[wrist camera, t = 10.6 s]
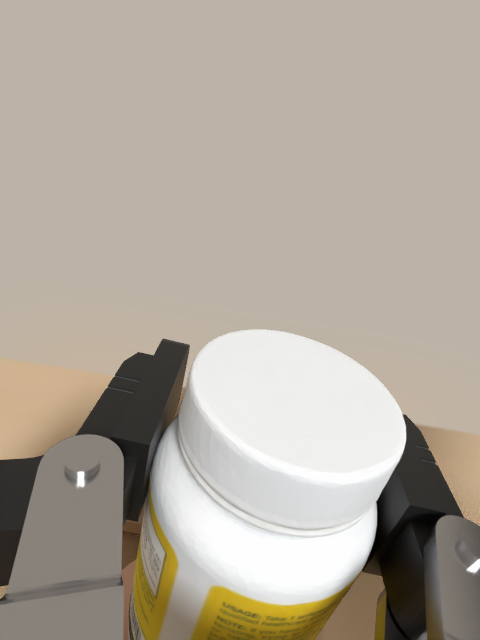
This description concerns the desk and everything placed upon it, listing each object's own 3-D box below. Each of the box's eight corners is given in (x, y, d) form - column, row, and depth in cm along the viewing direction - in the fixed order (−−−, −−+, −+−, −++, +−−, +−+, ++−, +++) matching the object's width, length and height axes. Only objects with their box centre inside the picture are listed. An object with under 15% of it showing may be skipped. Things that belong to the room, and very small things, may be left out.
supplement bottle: (318, 603, 11) (451, 397, 7) (229, 802, 8) (404, 600, 4) (202, 503, 13) (259, 300, 9) (87, 622, 10) (104, 369, 6)
